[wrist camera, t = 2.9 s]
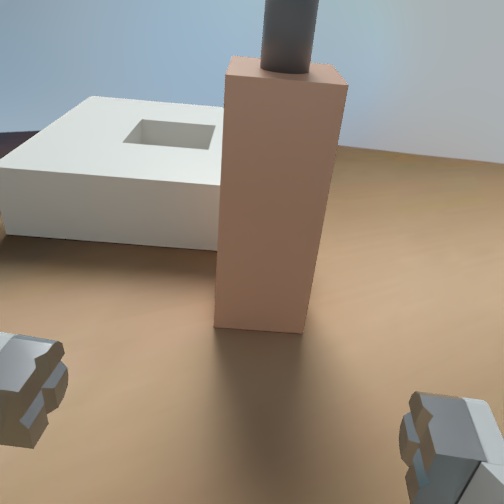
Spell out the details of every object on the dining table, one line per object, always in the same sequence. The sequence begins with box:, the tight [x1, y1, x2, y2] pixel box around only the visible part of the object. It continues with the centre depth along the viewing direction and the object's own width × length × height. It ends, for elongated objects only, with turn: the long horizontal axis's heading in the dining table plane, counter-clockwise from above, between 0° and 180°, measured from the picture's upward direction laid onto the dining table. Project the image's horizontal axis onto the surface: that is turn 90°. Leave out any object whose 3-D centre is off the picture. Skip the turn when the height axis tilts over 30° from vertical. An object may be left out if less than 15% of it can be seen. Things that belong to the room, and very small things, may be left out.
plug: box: [214, 0, 348, 334], centre depth 21 cm, size 4×4×15 cm
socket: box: [0, 96, 224, 251], centre depth 35 cm, size 18×18×4 cm
